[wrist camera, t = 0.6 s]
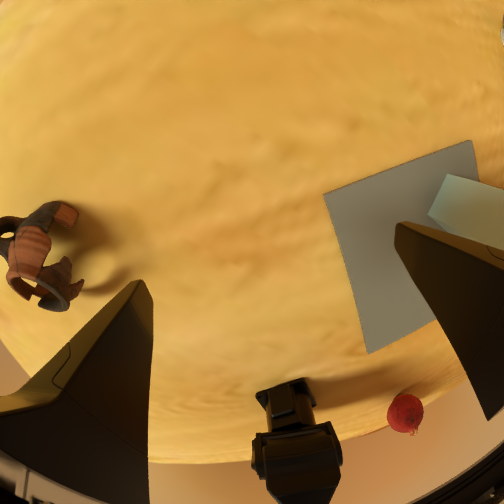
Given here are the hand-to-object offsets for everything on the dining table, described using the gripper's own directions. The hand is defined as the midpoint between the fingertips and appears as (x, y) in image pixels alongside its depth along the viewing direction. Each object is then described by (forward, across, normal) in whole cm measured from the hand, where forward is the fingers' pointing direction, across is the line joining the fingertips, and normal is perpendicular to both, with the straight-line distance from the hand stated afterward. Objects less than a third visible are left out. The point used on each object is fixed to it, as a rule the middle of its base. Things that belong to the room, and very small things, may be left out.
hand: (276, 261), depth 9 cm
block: (+12, -21, +7) cm, 25 cm away
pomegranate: (+8, -17, +36) cm, 41 cm away
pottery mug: (+16, +21, +3) cm, 26 cm away
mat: (+12, -18, +12) cm, 24 cm away
